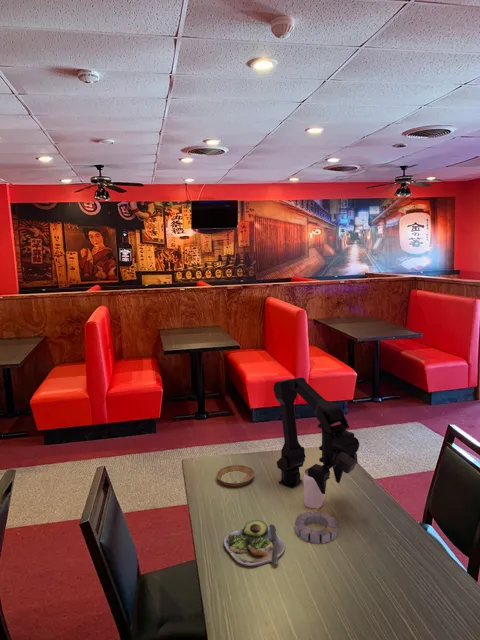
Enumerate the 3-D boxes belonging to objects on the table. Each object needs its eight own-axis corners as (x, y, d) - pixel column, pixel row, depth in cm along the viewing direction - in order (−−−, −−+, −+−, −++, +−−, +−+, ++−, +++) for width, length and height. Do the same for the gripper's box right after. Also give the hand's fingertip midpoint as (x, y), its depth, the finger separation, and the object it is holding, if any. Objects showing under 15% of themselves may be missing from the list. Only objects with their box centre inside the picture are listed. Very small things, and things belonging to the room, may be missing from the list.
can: (322, 499, 163) (322, 467, 161) (323, 509, 157) (323, 476, 155) (303, 499, 164) (303, 467, 162) (304, 509, 158) (303, 476, 156)
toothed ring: (287, 532, 145) (286, 523, 145) (310, 513, 155) (310, 506, 154) (322, 549, 137) (322, 540, 136) (345, 528, 146) (345, 520, 146)
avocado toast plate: (301, 560, 133) (301, 545, 132) (245, 580, 125) (244, 565, 125) (269, 524, 150) (268, 511, 149) (218, 541, 143) (217, 527, 142)
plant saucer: (208, 481, 179) (208, 475, 179) (234, 467, 190) (233, 461, 190) (237, 493, 169) (237, 487, 169) (262, 477, 180) (262, 471, 180)
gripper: (337, 461, 140) (337, 508, 142) (366, 440, 153) (366, 484, 156) (306, 451, 147) (307, 496, 150) (337, 432, 161) (337, 474, 163)
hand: (330, 488), depth 154 cm, fingers open, 9 cm apart
